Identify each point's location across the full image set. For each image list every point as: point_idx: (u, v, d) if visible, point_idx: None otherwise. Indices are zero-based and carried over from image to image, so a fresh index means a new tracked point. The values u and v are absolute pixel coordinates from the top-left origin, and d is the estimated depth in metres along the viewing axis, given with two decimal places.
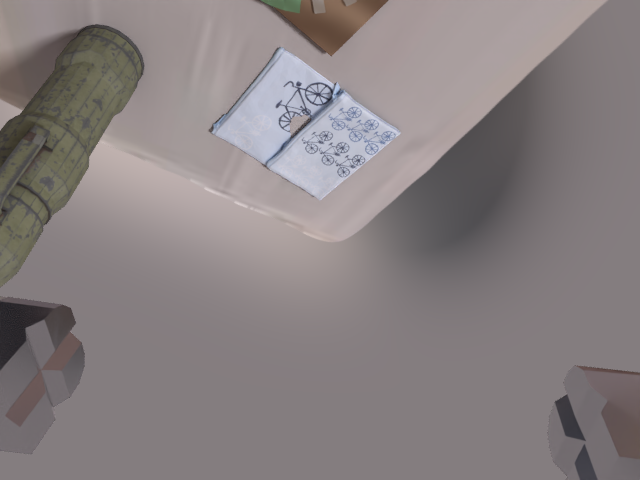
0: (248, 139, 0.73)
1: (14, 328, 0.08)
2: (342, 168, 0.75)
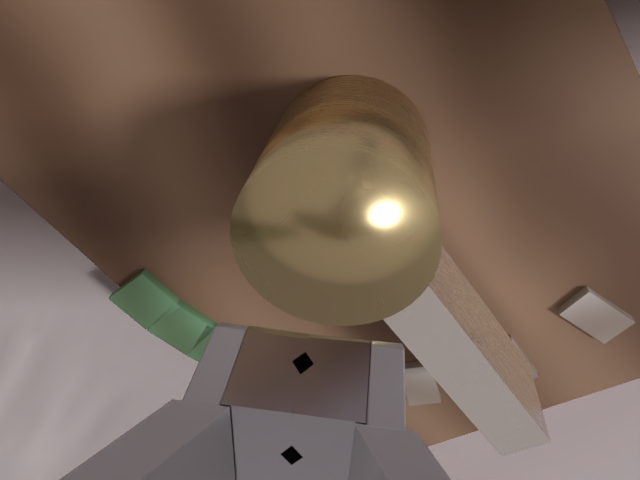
0: None
1: (281, 361, 0.07)
2: None
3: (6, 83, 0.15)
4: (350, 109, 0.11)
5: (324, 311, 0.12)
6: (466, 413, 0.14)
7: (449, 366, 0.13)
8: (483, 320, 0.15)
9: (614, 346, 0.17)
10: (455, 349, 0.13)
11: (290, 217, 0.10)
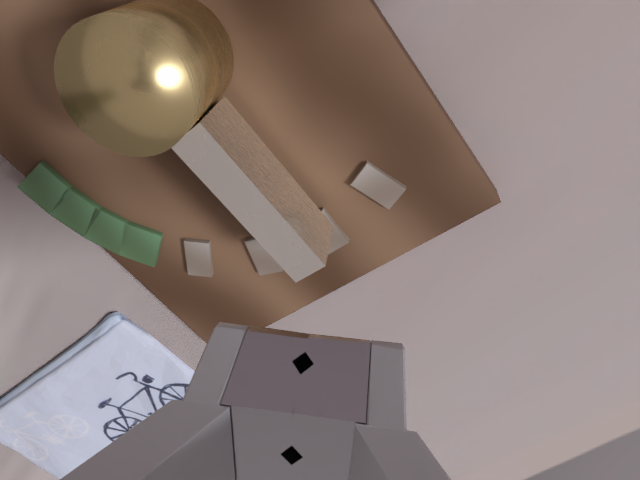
0: (40, 447, 0.37)
1: (281, 361, 0.07)
2: None
3: None
4: (141, 3, 0.16)
5: (129, 145, 0.17)
6: (260, 243, 0.20)
7: (238, 201, 0.19)
8: (277, 178, 0.20)
9: (400, 213, 0.22)
10: (238, 185, 0.18)
11: (91, 68, 0.16)
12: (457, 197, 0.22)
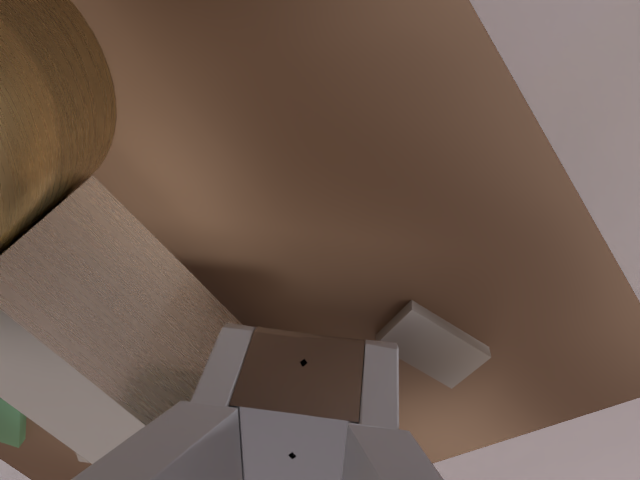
0: None
1: (288, 362, 0.07)
2: None
3: None
4: None
5: None
6: None
7: (107, 447, 0.08)
8: None
9: (472, 391, 0.11)
10: (102, 419, 0.07)
11: None
12: (594, 370, 0.11)
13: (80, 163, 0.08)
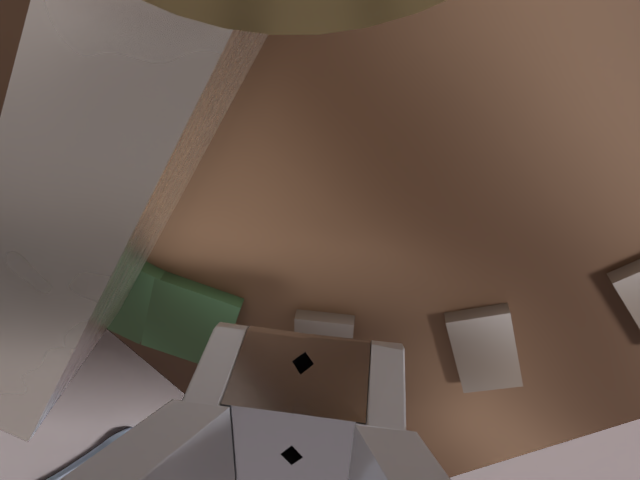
0: None
1: (281, 361, 0.07)
2: None
3: None
4: None
5: None
6: None
7: (34, 220, 0.05)
8: (160, 218, 0.07)
9: None
10: (86, 211, 0.05)
11: None
12: None
13: None
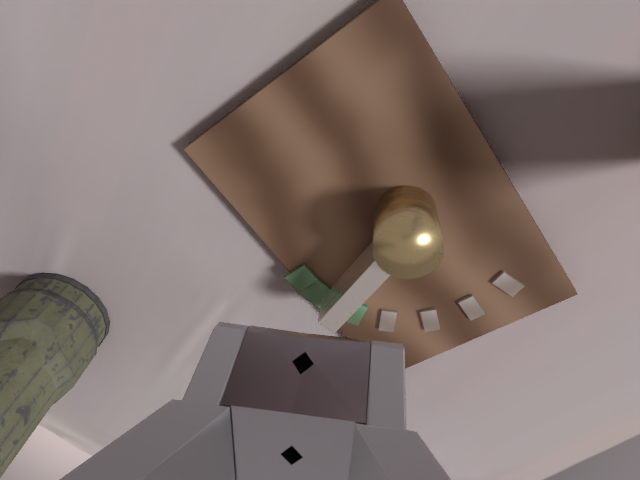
0: None
1: (281, 361, 0.07)
2: None
3: (263, 184, 0.36)
4: (440, 226, 0.33)
5: (379, 253, 0.32)
6: (335, 304, 0.36)
7: (357, 291, 0.35)
8: None
9: (517, 298, 0.39)
10: (366, 290, 0.35)
11: (415, 235, 0.31)
12: (552, 291, 0.38)
13: None
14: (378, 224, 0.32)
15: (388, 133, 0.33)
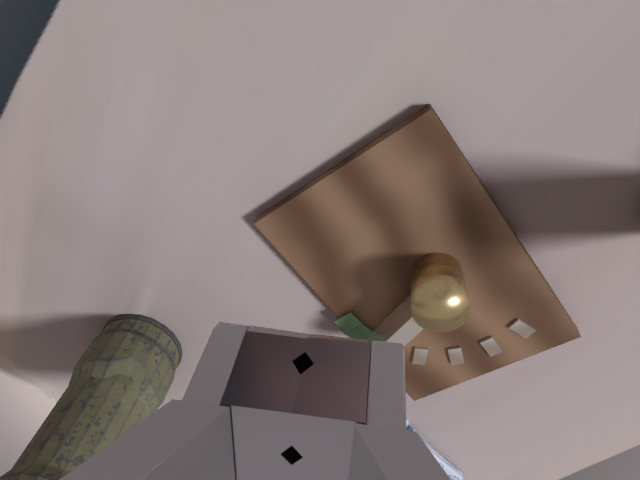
0: None
1: (281, 361, 0.07)
2: None
3: (318, 250, 0.44)
4: (466, 289, 0.41)
5: (416, 313, 0.40)
6: None
7: (397, 339, 0.43)
8: None
9: (530, 339, 0.46)
10: (404, 338, 0.43)
11: (446, 300, 0.39)
12: (559, 334, 0.45)
13: None
14: (416, 289, 0.40)
15: (423, 213, 0.40)
